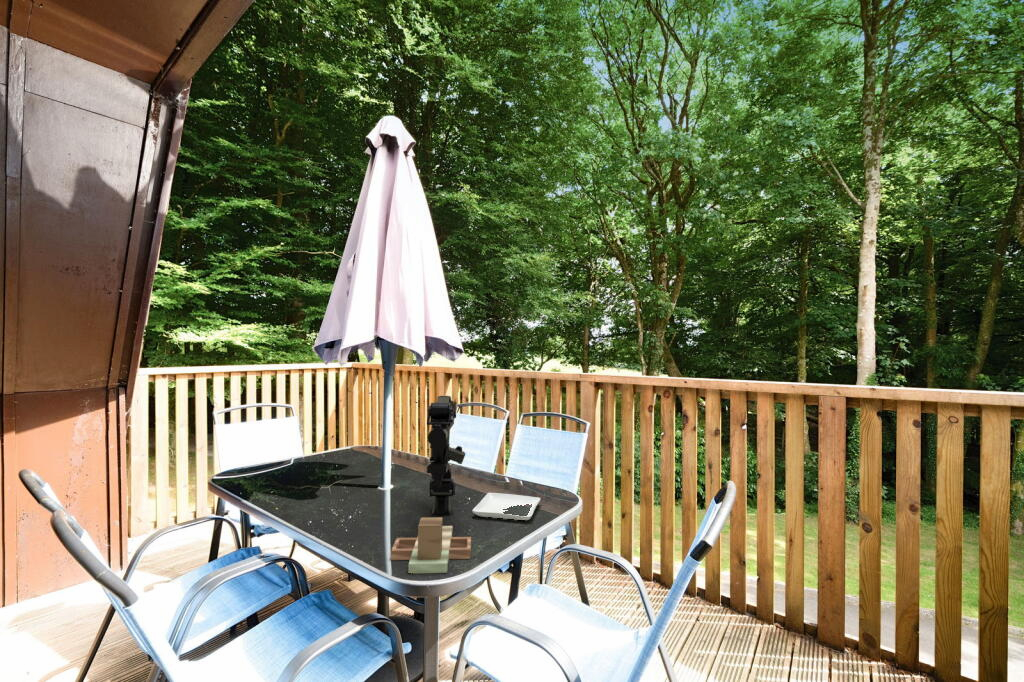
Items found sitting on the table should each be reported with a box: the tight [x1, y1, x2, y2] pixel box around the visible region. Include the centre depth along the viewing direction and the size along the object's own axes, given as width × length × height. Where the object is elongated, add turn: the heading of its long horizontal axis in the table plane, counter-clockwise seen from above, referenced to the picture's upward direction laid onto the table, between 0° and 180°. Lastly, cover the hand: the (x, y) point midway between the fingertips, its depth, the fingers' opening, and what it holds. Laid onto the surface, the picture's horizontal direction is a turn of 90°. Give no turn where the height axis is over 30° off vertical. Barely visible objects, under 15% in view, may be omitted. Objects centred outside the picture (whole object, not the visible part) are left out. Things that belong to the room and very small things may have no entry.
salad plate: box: [472, 492, 541, 521], centre depth 169 cm, size 21×21×3 cm
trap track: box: [390, 525, 472, 574], centre depth 134 cm, size 26×22×2 cm
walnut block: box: [417, 516, 443, 560], centre depth 126 cm, size 6×6×9 cm
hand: (438, 488), depth 152 cm, fingers closed
